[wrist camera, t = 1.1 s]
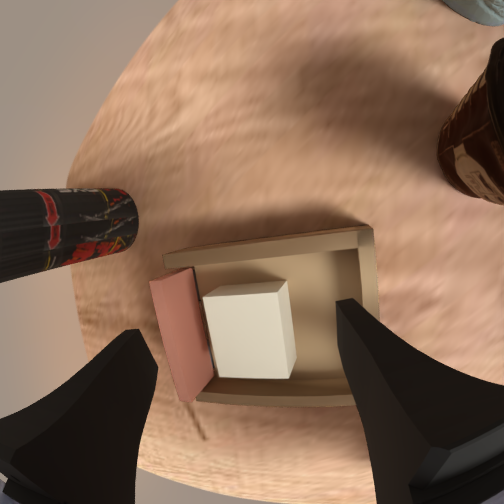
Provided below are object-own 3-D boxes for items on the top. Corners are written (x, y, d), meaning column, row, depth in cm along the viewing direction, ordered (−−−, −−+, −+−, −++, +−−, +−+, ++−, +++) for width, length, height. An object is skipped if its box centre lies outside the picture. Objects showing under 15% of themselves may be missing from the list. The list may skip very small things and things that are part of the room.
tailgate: (220, 368, 25) (191, 402, 20) (209, 367, 25) (179, 400, 20) (199, 264, 24) (161, 280, 19) (188, 265, 24) (148, 281, 19)
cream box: (296, 357, 22) (288, 378, 19) (234, 358, 23) (219, 376, 20) (286, 280, 21) (277, 292, 18) (220, 285, 22) (202, 297, 20)
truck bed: (376, 378, 21) (378, 403, 18) (213, 380, 26) (196, 400, 22) (368, 224, 20) (372, 228, 16) (186, 248, 24) (162, 255, 21)
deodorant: (134, 183, 25) (-22, 182, 11) (142, 250, 26) (-11, 291, 11) (91, 195, 27) (-45, 203, 13) (98, 254, 27) (-35, 288, 13)
